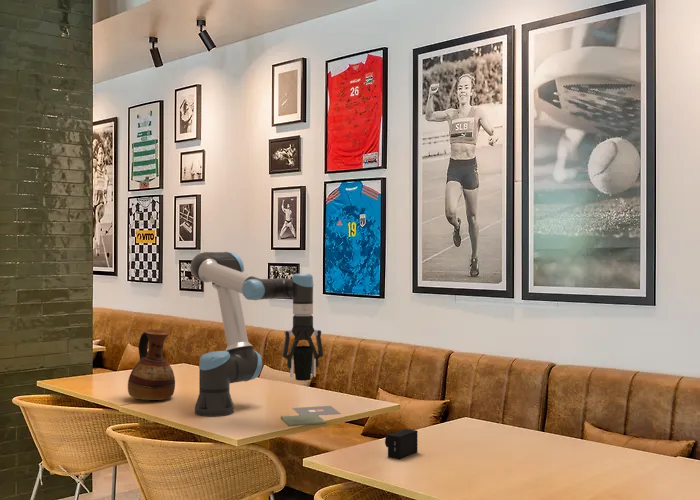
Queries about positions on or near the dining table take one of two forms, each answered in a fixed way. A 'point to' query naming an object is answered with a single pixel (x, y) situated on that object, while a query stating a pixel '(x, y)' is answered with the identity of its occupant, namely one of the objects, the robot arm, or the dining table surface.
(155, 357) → the ceramic pitcher
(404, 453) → the digital camera
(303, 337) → the robot arm
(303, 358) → the cup
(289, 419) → the mat
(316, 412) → the tile
